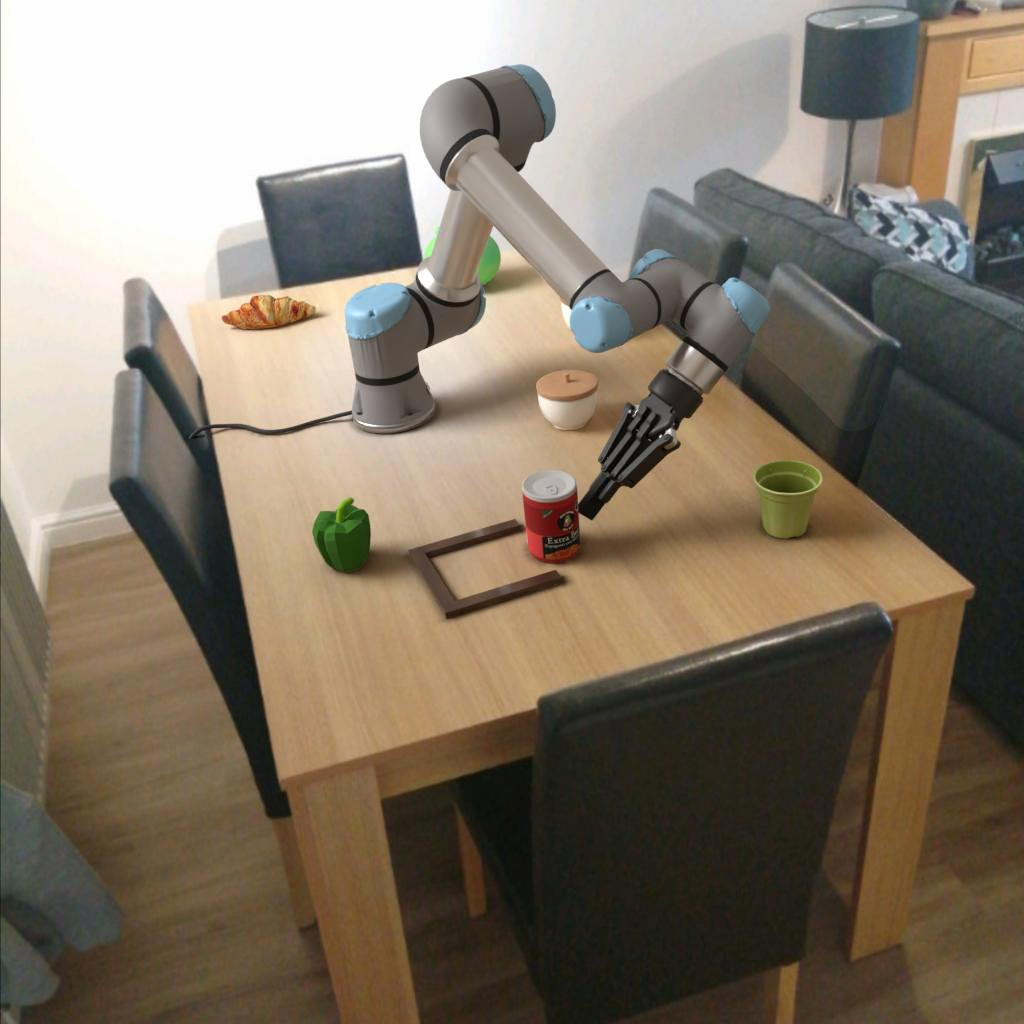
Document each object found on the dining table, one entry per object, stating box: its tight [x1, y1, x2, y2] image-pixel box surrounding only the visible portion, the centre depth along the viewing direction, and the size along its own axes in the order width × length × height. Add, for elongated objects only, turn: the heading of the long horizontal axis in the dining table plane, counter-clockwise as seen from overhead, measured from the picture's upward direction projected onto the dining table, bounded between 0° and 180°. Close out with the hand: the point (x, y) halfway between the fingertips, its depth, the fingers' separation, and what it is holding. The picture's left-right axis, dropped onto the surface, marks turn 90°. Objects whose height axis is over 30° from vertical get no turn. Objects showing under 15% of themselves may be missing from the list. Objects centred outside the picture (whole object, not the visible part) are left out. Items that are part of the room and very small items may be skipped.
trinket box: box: [535, 369, 599, 431], centre depth 181 cm, size 11×11×9 cm
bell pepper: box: [311, 496, 372, 573], centre depth 149 cm, size 8×8×10 cm
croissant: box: [221, 294, 317, 330], centre depth 237 cm, size 21×10×8 cm, turn 101°
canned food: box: [521, 469, 581, 564], centre depth 147 cm, size 8×8×11 cm
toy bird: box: [423, 226, 502, 286], centre depth 243 cm, size 18×17×15 cm
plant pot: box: [752, 459, 824, 540], centre depth 147 cm, size 9×9×9 cm
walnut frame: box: [407, 518, 563, 619], centre depth 147 cm, size 17×17×1 cm
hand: (583, 514), depth 150 cm, fingers closed
